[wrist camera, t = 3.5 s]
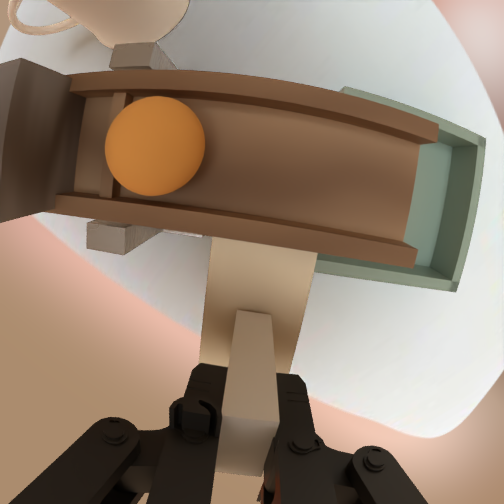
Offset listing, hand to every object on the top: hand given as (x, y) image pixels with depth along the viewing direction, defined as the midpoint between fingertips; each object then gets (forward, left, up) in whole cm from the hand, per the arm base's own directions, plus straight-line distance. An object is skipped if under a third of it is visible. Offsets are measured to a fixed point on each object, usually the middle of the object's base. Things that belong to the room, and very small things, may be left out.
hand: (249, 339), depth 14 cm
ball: (-8, -4, +1) cm, 9 cm away
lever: (-4, -5, -1) cm, 7 cm away
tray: (-8, +9, -10) cm, 15 cm away
